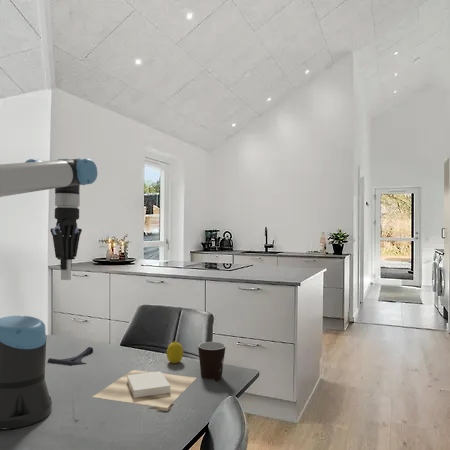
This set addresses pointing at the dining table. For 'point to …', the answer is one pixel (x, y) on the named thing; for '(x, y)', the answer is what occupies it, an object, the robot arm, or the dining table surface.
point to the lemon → (174, 352)
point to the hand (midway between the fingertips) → (65, 279)
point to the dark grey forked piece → (72, 360)
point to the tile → (148, 384)
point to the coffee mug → (211, 359)
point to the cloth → (161, 401)
